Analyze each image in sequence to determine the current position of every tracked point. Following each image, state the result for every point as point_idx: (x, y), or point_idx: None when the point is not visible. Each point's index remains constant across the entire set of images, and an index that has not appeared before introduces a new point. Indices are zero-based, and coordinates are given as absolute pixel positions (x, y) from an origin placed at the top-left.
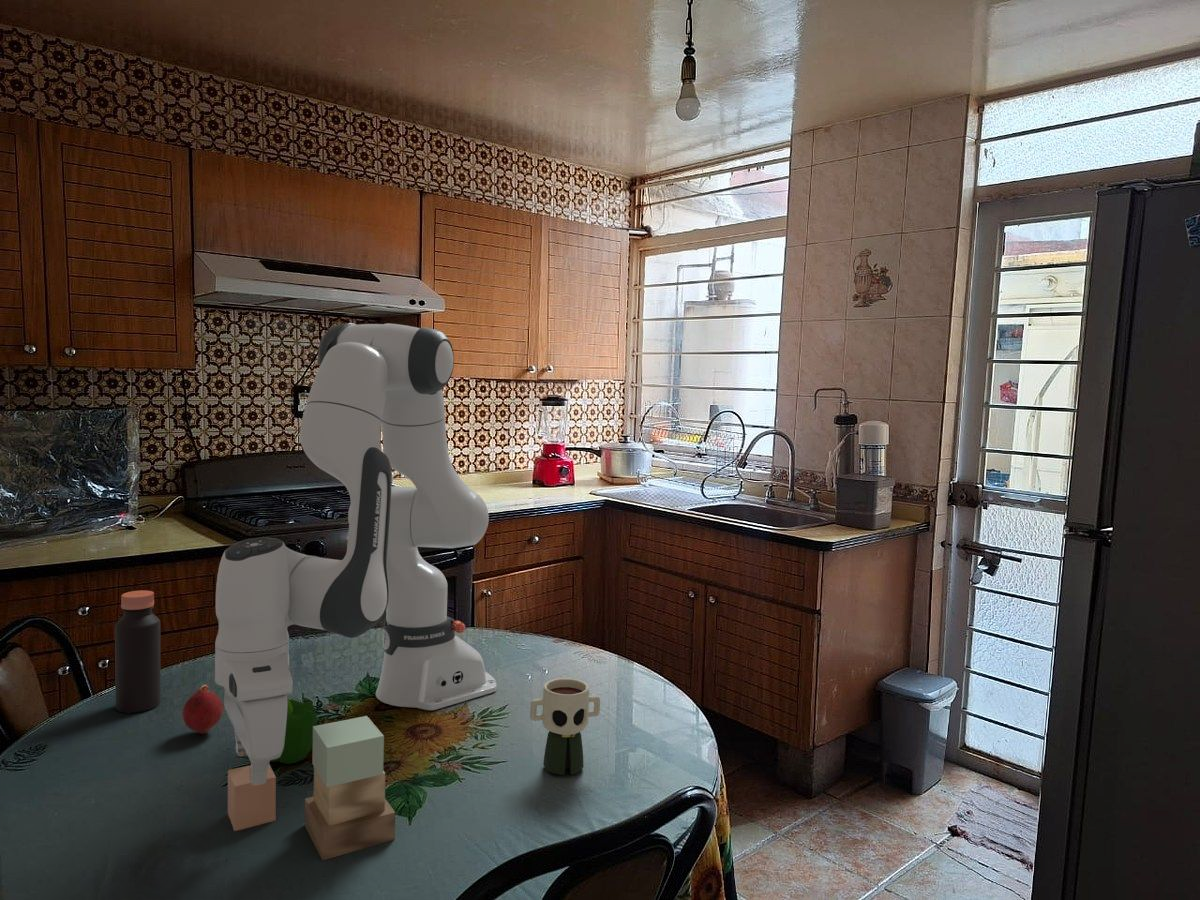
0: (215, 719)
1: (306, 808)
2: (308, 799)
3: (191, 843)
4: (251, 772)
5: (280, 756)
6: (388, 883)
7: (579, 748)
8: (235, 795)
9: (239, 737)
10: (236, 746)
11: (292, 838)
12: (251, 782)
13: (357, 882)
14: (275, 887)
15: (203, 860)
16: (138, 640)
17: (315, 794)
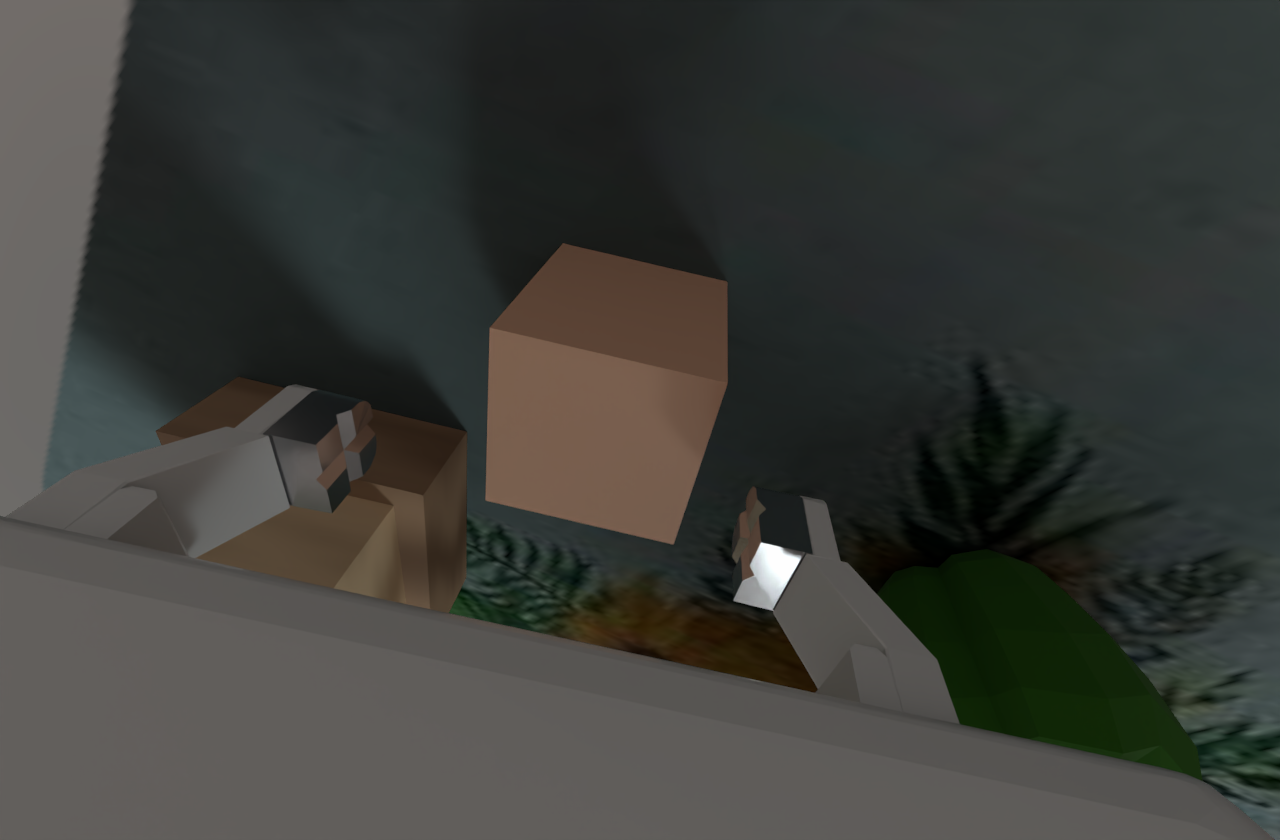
0: None
1: (410, 470)
2: (411, 499)
3: (572, 39)
4: (235, 428)
5: (916, 584)
6: (84, 435)
7: None
8: (509, 309)
9: (274, 609)
10: (810, 526)
11: (401, 371)
12: (285, 389)
13: (101, 389)
14: (113, 202)
15: (391, 34)
16: None
17: (349, 526)
